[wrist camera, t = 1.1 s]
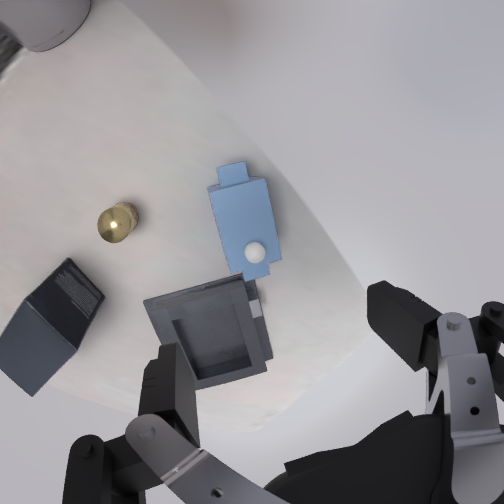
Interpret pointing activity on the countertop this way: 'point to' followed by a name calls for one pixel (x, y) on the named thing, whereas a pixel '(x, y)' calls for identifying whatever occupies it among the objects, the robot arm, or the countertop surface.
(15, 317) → the small box
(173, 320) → the frame
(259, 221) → the servo
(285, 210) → the countertop surface
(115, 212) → the cylinder
